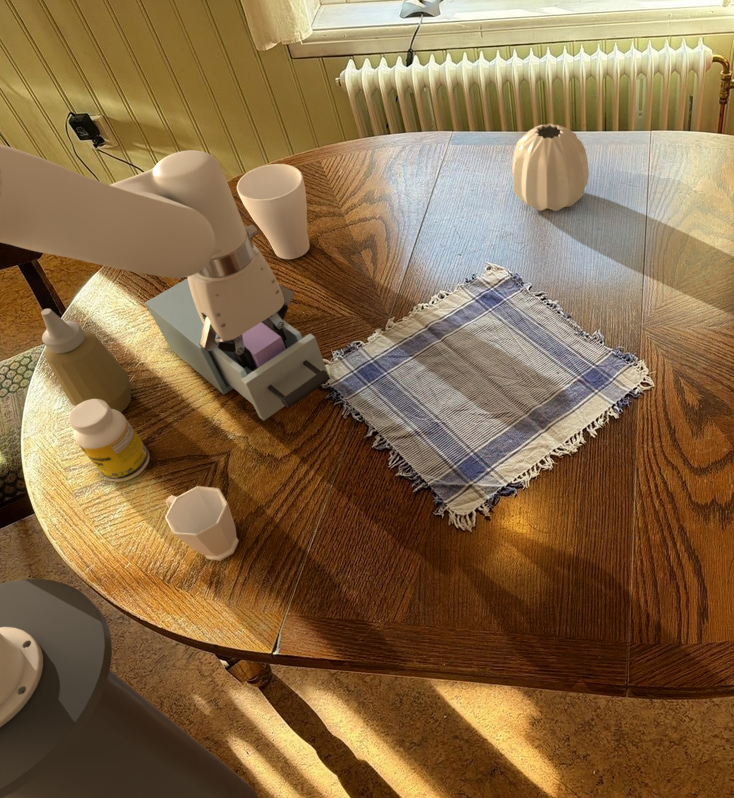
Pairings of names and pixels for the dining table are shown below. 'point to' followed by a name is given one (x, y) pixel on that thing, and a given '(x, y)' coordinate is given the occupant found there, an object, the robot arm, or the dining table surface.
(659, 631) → the dining table surface
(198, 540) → the cup
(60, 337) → the squeeze bottle
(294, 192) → the cup
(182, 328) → the cabinet
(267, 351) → the cube
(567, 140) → the vase
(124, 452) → the pill bottle
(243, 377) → the drawer
